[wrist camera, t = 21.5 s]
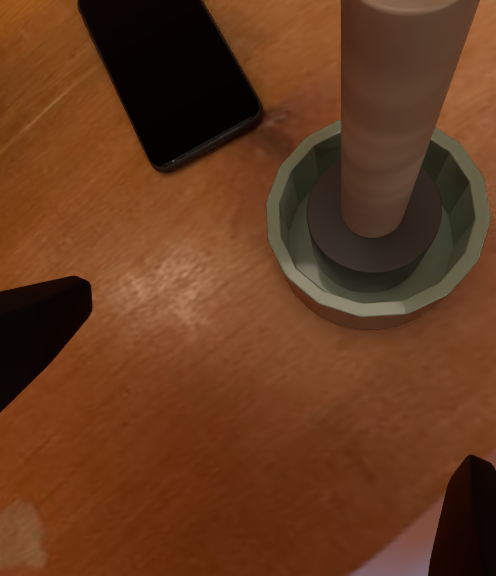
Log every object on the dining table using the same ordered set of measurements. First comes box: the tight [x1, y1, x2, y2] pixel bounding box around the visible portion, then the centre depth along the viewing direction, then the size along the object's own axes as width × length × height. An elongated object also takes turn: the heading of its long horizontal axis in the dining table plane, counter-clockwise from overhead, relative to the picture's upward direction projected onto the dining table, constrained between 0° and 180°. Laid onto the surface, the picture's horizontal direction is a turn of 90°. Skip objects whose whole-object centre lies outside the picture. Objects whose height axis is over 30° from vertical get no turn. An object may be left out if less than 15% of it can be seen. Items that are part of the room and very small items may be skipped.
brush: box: [306, 0, 480, 293], centre depth 16 cm, size 6×6×16 cm
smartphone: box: [78, 0, 263, 172], centre depth 28 cm, size 7×1×15 cm
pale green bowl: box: [266, 119, 491, 330], centre depth 22 cm, size 9×9×4 cm
